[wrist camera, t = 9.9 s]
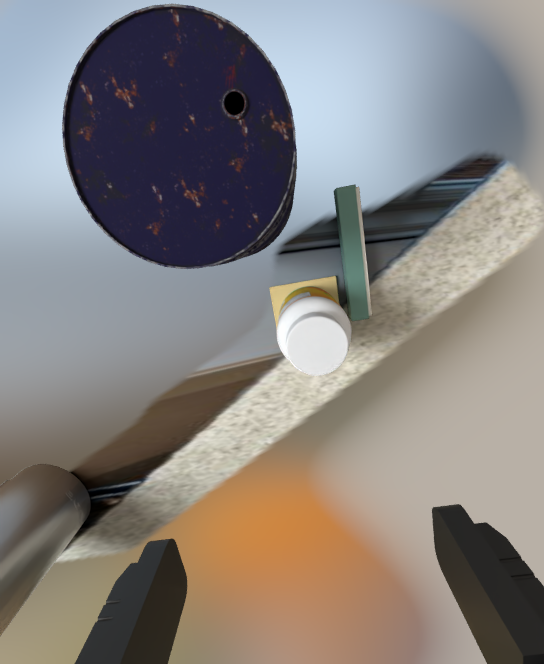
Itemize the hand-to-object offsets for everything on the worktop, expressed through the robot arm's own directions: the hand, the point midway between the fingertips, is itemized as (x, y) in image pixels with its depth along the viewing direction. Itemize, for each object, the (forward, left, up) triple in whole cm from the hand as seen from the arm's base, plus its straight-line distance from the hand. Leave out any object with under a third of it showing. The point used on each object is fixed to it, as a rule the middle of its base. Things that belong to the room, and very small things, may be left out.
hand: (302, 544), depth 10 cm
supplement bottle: (+2, +2, -22) cm, 22 cm away
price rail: (+6, +7, -22) cm, 23 cm away
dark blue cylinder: (-3, +13, -22) cm, 26 cm away
